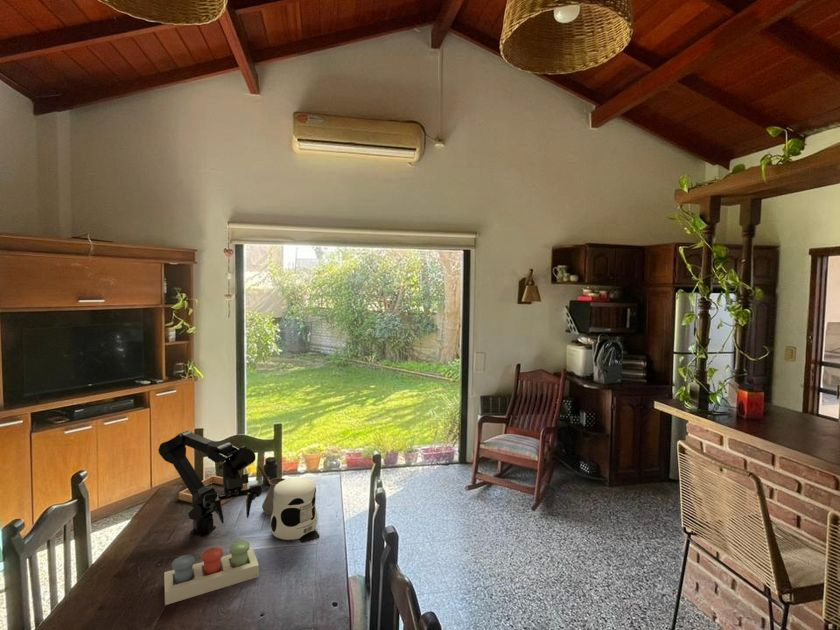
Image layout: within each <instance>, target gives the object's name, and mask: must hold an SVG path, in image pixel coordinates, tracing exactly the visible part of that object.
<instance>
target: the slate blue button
mask: <svg viewBox="0 0 840 630" xmlns="http://www.w3.org/2000/svg"><path fill="white" fill-rule="evenodd" d="M195 559H196V558H195V556H194V555H192V554H184V555H180V556H179V557H177V558H175V559H174V560H173V561H172V565H171V566H172V570H175V584H180V583H183V582H187V581H190V580H192V565H193V564H196V563H195V561H196V560H195Z"/></svg>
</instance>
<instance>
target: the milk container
mask: <svg viewBox="0 0 840 630" xmlns="http://www.w3.org/2000/svg"><path fill="white" fill-rule="evenodd" d="M316 493H317V487H316V484H315V482H314V480H312V479H309V478H308V477H307V478H306V477H291V478H287V479H285V480H283V481H281V482H279V483H278V484H276V486H275V488H274V493H273V497H274V498H273V513H272V516H271V517H270V530H271V533H272V535H273V536H274V537H275V538H277V539H279V540H281V541H287V542H290V541H291V542H292V541H293V542H294V541H299V539H302V538H305V537H307V536H308V535H310V534H311V533H312V532H313V531H314V530H316V528H317V526H318V525H317V524H318V518H319V517H318V511H317V507H316V506H317V505H316V503H317V501H316V500H317V495H316Z"/></svg>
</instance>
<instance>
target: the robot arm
mask: <svg viewBox="0 0 840 630" xmlns="http://www.w3.org/2000/svg"><path fill="white" fill-rule="evenodd" d="M187 447H189V448H191V449H194V450H197V451H199V452H201V453H204V454H205V455H206V456H207V458H208V459H209V460H211V461H212V462H214V463H216V464H217V463H220V464H219V465H218V468H217V469H218V470H221V475H222V477H223V485H222V486H223V493H222V494H218V492H217V491H216V489H215V488H214V487H213V486H212V487H210V488H208V486H204V484H203V483H202V479H201V478H200V477H199V474H198V473H197V472H196V470H195V468H194V466H193V465H192V463H191V462H190V461H189V459H188V457H187ZM158 454H159V455H160V457H161V459H163V460H164V461H165V462H167V463H169V464H171V465H173V467H174V468H175V470H176V472H177V473H178V475H179V476H180V479H182V482H183V483H184V484H185V486H186V489H187V488H188V489H189V491H190V493H191V494H192V503H191V505H192V509H191V510H190V511H189V512H188V513H187V514H188V518H189V520H192V521H193V526H192V527H193V528H192V529H191V530H190V531H189V533H190V534H192V535H197V536H200V537H204V536H206V535H207V534H209V533H211V532H212V531H213V530H215V529H216V527H217V526H216V525H214V518H213V516H214V515H213V513H214V512H215V513H216V515H217V517H218V519H219V520H220V522H221V524H224V514H223V509H222V505H221V500H226V499H230V500H232V499H235V498H240V497H245V496H246V500H245V506H246V507H245V508H246V509H245V512H246V518H247V519H249V517H250V511H251V506H252V503H253V501H255V499H256V498H260V497H261V495H262V493H263V485H261V484H260V483H258V484H252V485H249V487H248V488H247V489H246V490H242V489H243V484H246V483H247V484H249V474H248V473H244V474H243V473H242V475H241V473H240V472H241V471H243V470H245V469H246V468H247V467H248V466H250V465H251V464H253V463H254V462H255V461H256V453H255V451H253V450H252V449H250V448H247V446H246V445H244V446H242V447H240V448H238V447H237V446H235V445H233V444H232V443H231V442H229V441H225V440H216V441H215V440H211V439H210V438H207V437H204V436H201V435H199V434H197V433H193V431H191V430H186V431H184V432H180V433H177V435H176V436H174V437H173V438H171V439H169V440H166V441H164V442H161V443H160V444H159V447H158ZM231 498H232V499H231Z"/></svg>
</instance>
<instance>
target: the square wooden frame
mask: <svg viewBox="0 0 840 630" xmlns="http://www.w3.org/2000/svg"><path fill="white" fill-rule="evenodd" d="M201 481H202V483H203V484H204V486H205V487H208V485H206V484H209V485H211V484H218V485H222V486H223V476H218V475H213V474H212V475H211V476H209V477H206V478H205V479H203V480H202V479H201ZM247 489H248V483H246V484H243V489H242V490H247ZM232 499H233V498H231V499H226V500H221V506H222V505H223V504H225V503H227V502H228V501H231V500H232ZM178 500H179V501H182V502H183V501H184V502H188V503H191V504H192V494H191V493H190V491H189V489H188V488H187V487H186V488H185V489H183V490H181V491H179V492H178Z"/></svg>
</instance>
